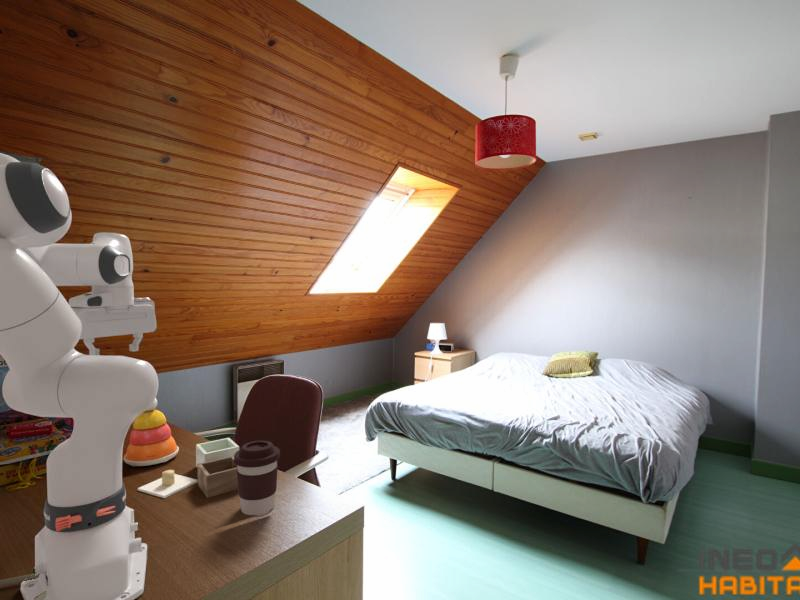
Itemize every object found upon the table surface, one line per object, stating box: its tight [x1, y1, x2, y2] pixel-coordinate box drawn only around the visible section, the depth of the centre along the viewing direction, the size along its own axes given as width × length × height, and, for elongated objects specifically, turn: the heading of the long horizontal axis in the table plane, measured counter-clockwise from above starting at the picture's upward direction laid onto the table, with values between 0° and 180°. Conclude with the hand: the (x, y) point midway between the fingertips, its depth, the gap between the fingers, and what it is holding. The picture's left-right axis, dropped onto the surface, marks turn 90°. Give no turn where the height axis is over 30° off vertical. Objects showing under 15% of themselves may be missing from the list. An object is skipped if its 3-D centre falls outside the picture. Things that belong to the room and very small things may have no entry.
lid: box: [137, 469, 198, 499], centre depth 113 cm, size 10×10×5 cm
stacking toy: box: [123, 397, 180, 467], centre depth 132 cm, size 14×14×20 cm
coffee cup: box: [234, 440, 281, 518], centre depth 102 cm, size 10×10×15 cm
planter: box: [195, 437, 240, 468], centre depth 124 cm, size 9×9×7 cm
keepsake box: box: [196, 456, 238, 499], centre depth 113 cm, size 9×9×6 cm
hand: (115, 353), depth 113 cm, fingers open, 8 cm apart
